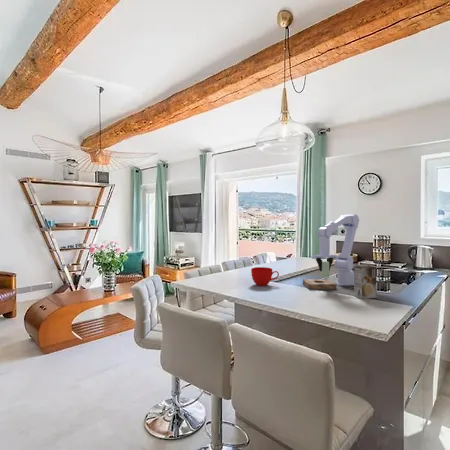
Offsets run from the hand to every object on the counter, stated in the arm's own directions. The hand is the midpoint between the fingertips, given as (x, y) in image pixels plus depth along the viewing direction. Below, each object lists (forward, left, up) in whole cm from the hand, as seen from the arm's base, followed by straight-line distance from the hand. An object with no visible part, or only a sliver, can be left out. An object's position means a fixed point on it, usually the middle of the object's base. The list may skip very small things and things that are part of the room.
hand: (324, 270), depth 183 cm
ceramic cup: (+34, -9, -11) cm, 37 cm away
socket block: (+2, -4, -10) cm, 11 cm away
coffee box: (-15, +20, -11) cm, 27 cm away
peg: (0, 0, -4) cm, 4 cm away
